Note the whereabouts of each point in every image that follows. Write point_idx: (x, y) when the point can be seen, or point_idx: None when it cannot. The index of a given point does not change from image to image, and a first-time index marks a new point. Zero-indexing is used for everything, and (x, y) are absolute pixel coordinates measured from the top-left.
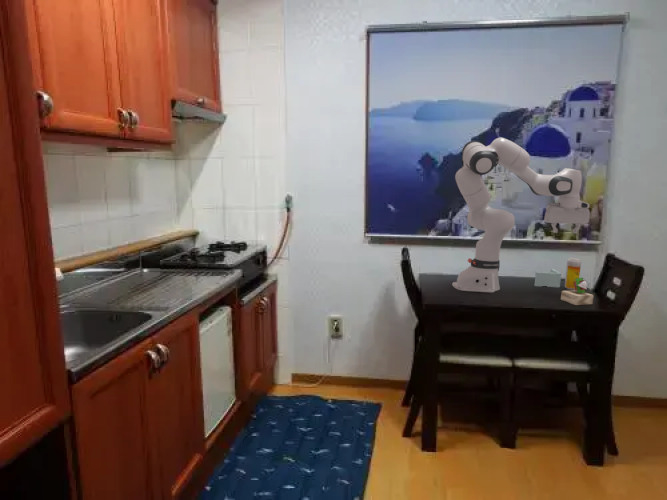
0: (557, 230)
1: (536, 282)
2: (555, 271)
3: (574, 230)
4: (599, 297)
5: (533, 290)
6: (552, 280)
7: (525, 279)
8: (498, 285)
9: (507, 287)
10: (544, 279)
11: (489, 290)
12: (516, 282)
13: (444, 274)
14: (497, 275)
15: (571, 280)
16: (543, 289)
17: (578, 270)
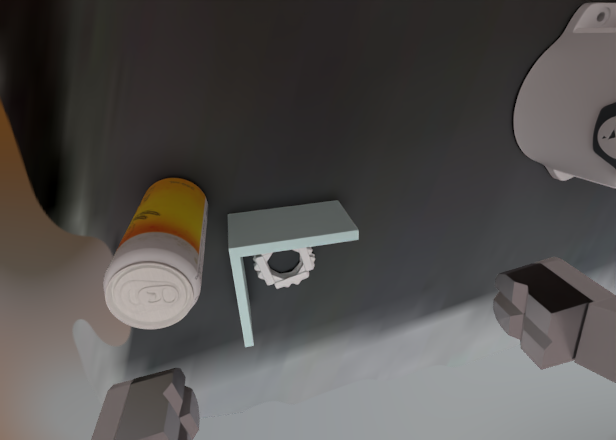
0: (538, 292)
1: (338, 208)
2: (245, 293)
3: (168, 412)
4: (44, 40)
5: (372, 111)
6: (267, 223)
7: (341, 302)
8: (549, 73)
9: (469, 137)
10: (306, 220)
11: (604, 3)
12: (396, 240)
13: (608, 274)
14: (601, 78)
15: (180, 195)
16: (318, 146)
17: (133, 227)
